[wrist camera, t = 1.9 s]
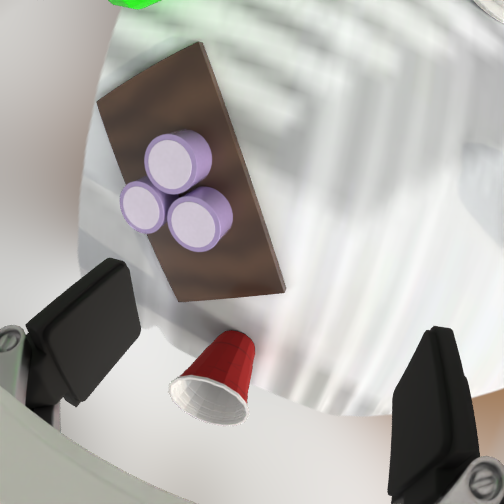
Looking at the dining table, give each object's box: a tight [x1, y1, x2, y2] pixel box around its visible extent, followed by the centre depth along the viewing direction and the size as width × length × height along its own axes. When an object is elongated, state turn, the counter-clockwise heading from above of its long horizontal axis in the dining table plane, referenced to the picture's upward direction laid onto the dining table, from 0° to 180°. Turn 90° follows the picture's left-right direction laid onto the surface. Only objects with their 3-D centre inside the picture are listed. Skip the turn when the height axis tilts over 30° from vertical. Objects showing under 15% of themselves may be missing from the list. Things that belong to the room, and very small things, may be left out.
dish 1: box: [144, 129, 212, 194], centre depth 32 cm, size 6×6×4 cm
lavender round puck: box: [167, 186, 233, 252], centre depth 34 cm, size 6×6×4 cm
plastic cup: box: [168, 330, 255, 426], centre depth 41 cm, size 11×11×12 cm
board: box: [97, 42, 286, 302], centre depth 36 cm, size 30×16×1 cm, turn 19°
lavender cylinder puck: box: [120, 175, 179, 234], centre depth 35 cm, size 6×6×4 cm
